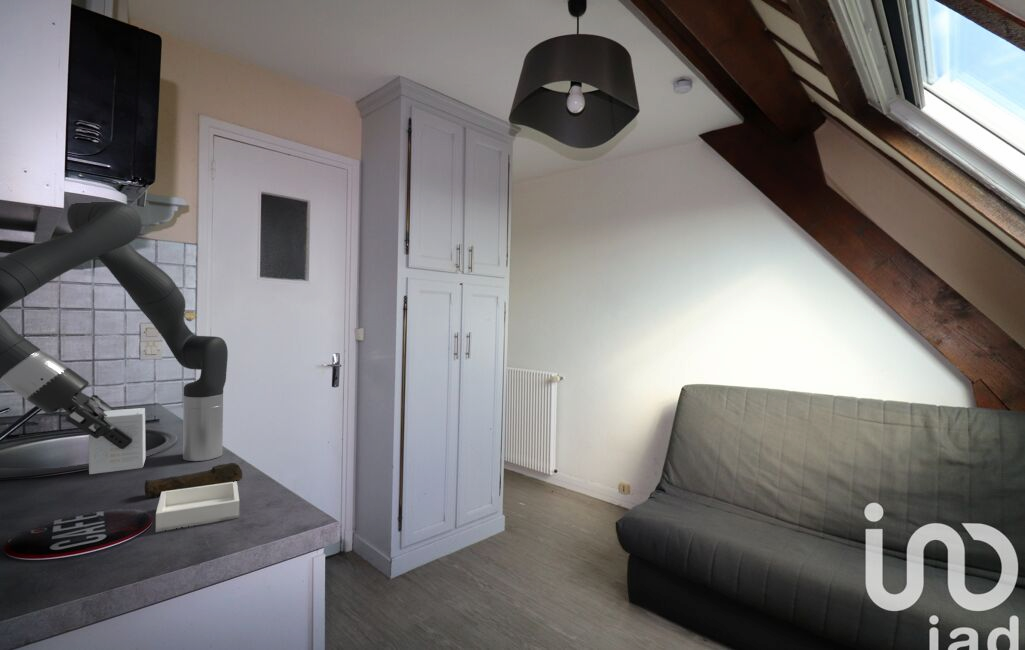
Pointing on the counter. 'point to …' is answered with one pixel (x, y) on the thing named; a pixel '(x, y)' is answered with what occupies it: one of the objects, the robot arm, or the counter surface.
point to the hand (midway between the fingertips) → (130, 440)
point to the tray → (197, 506)
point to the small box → (112, 457)
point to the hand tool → (194, 479)
